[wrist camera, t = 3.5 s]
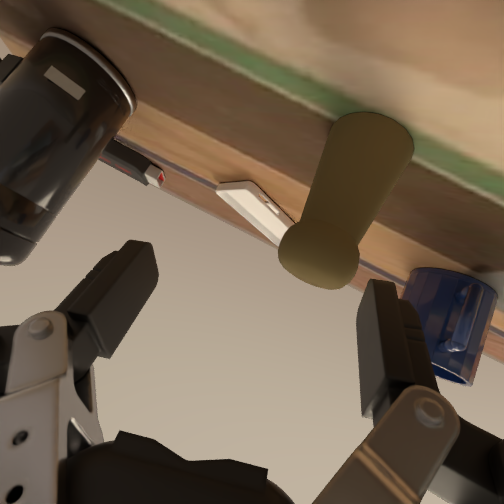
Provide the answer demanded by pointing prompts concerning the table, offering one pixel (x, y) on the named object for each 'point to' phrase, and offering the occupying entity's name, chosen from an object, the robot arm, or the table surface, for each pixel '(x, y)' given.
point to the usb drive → (132, 164)
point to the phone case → (256, 208)
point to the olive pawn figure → (345, 198)
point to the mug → (451, 319)
